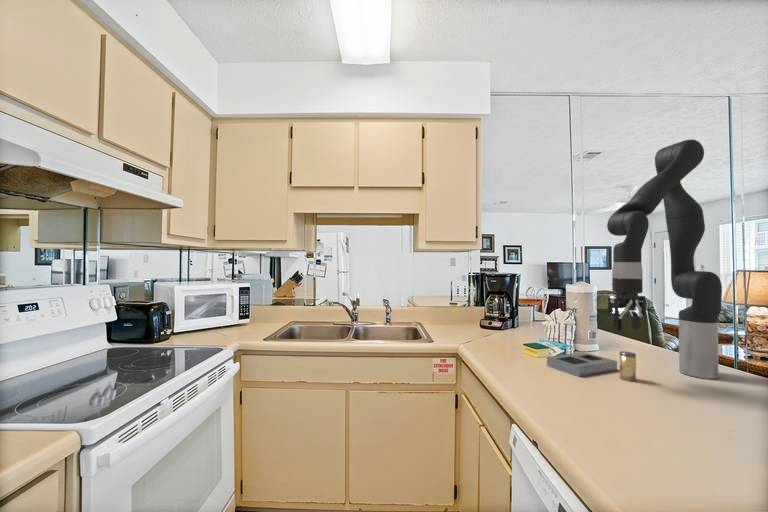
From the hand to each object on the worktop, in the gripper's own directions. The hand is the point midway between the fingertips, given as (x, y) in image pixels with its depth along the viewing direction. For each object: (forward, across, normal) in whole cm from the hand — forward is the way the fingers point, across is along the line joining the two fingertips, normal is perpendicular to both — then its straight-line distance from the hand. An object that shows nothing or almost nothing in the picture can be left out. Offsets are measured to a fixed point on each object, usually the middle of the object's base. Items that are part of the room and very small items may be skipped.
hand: (627, 330), depth 102 cm
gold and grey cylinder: (+15, 0, 0) cm, 15 cm away
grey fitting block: (+15, +3, -13) cm, 20 cm away
